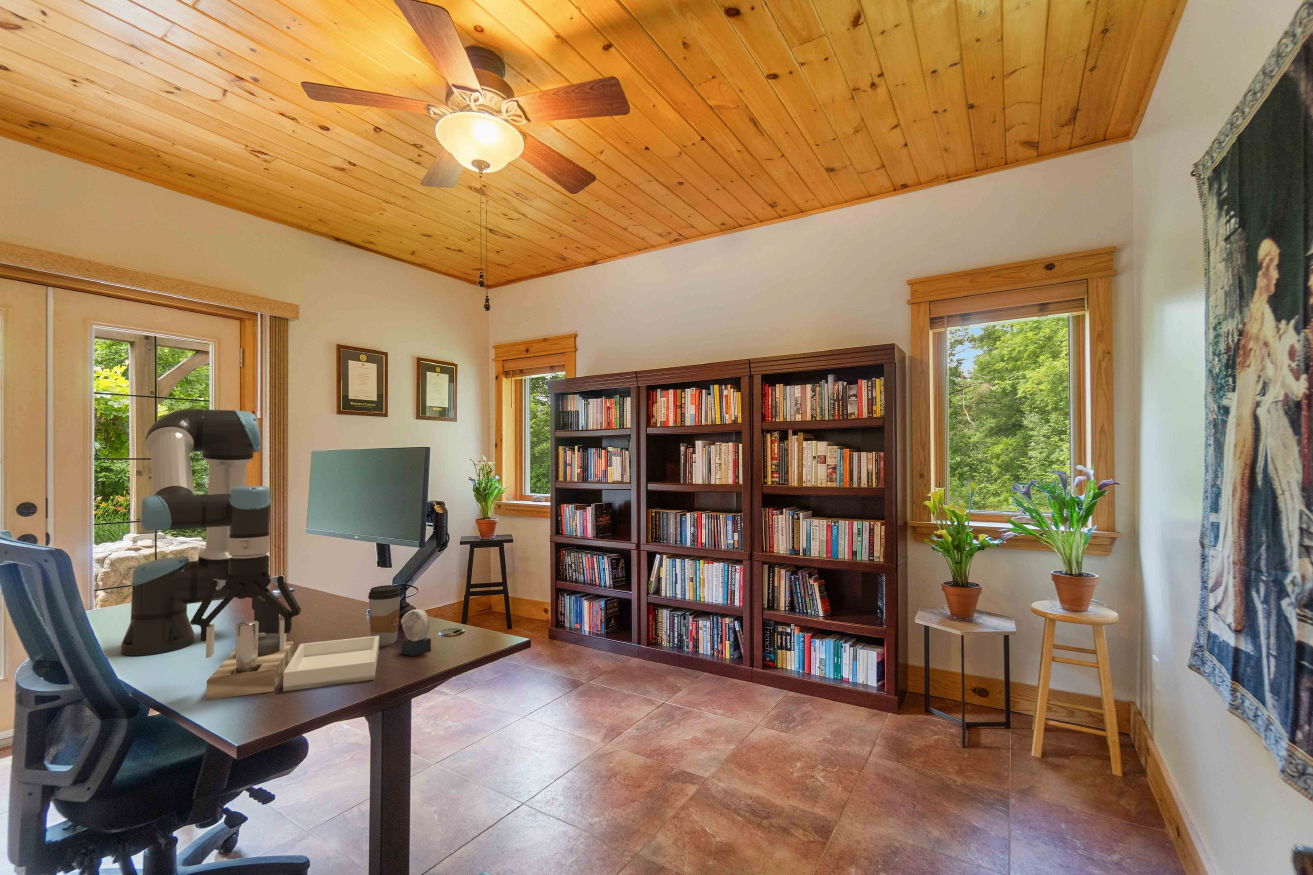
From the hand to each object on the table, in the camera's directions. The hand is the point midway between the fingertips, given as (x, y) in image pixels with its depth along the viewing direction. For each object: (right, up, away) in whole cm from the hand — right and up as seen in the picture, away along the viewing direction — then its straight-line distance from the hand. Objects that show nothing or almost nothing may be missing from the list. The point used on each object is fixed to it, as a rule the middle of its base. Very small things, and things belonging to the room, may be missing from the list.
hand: (247, 651), depth 132 cm
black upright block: (-11, -9, +22) cm, 26 cm away
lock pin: (0, -8, 0) cm, 8 cm away
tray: (+14, -8, +11) cm, 19 cm away
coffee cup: (+16, -9, +31) cm, 36 cm away
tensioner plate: (-3, -8, +6) cm, 10 cm away
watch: (+28, -9, +23) cm, 38 cm away
